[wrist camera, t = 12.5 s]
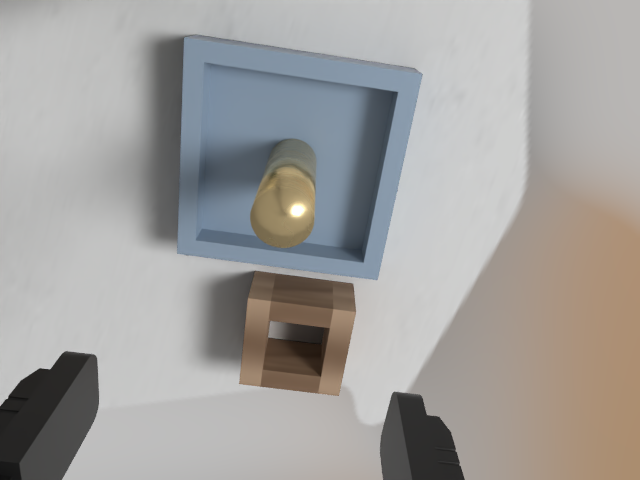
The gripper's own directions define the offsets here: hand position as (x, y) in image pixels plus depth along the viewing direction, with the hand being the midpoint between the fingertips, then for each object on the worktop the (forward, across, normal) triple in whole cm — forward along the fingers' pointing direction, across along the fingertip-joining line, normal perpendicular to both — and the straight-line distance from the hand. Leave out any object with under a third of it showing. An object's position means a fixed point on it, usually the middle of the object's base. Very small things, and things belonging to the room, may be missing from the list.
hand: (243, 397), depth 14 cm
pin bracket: (+24, -2, +13) cm, 27 cm away
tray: (+24, 0, 0) cm, 24 cm away
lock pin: (+23, 0, 0) cm, 23 cm away
